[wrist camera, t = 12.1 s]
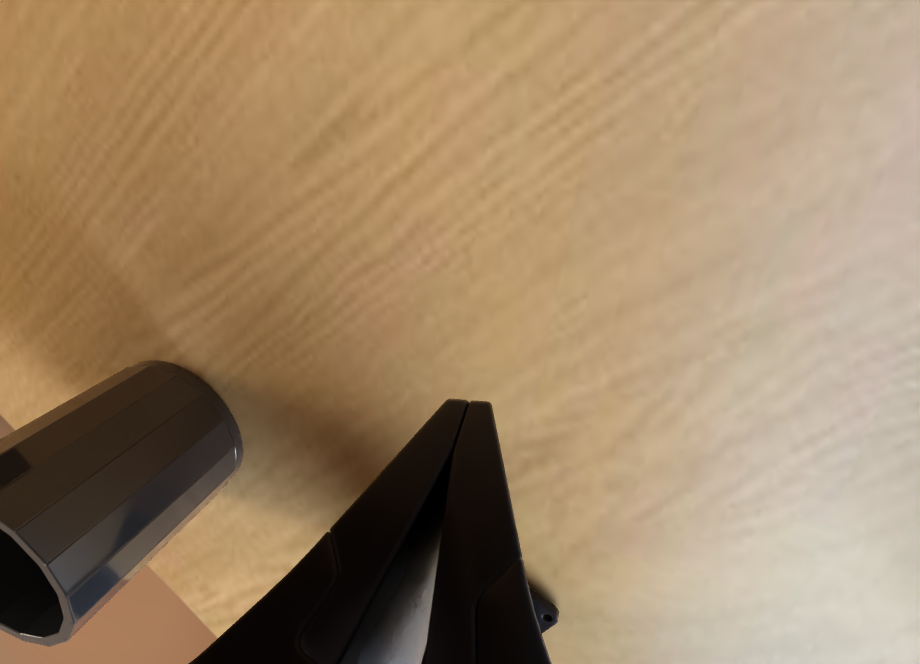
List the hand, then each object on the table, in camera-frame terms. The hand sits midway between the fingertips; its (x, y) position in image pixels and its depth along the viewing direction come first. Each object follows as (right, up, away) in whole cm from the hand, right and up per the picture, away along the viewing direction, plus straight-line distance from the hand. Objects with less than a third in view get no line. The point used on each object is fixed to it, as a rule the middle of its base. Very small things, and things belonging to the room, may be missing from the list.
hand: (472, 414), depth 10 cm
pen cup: (-15, -3, +19) cm, 25 cm away
